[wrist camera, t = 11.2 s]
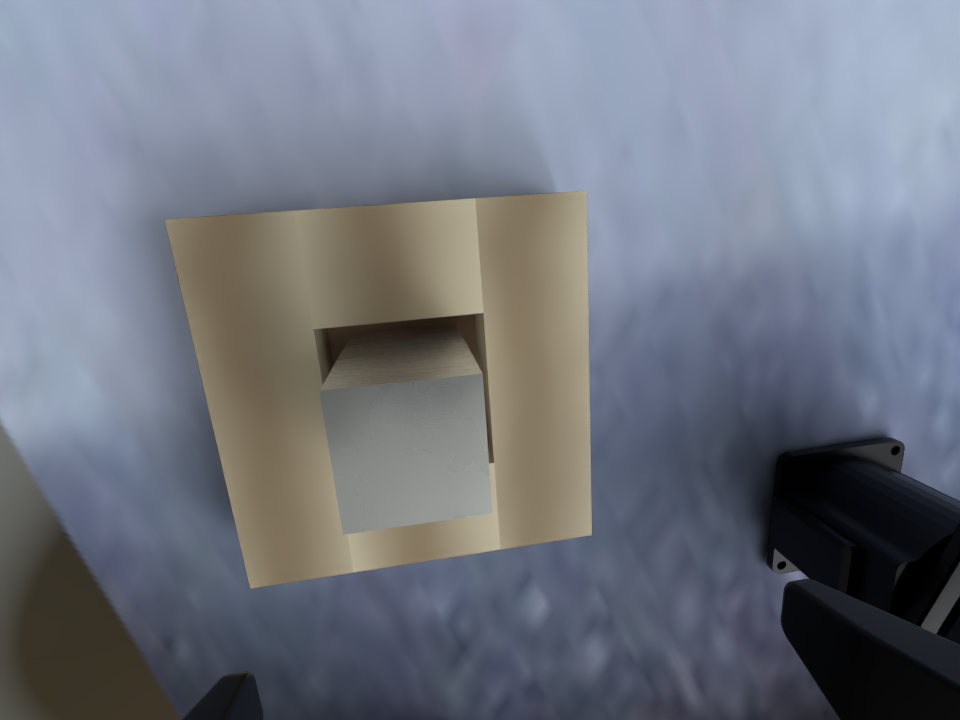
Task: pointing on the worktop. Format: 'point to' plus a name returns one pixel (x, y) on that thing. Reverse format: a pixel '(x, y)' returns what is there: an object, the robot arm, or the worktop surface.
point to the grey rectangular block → (407, 429)
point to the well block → (383, 307)
